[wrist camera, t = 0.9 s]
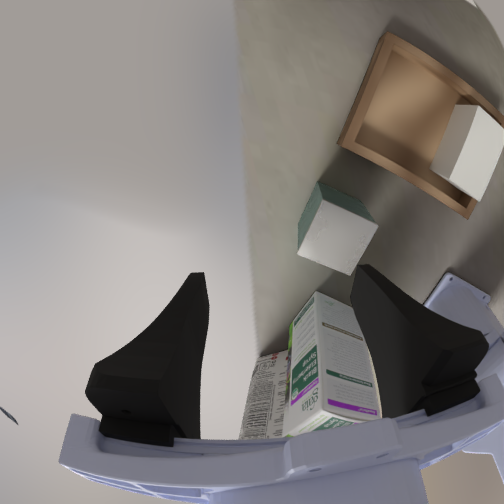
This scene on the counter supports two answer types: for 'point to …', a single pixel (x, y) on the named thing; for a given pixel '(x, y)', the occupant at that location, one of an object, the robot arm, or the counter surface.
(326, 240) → the tea tin
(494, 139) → the white rectangular block
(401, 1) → the counter surface
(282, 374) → the juice carton
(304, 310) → the syrup box
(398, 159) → the wooden tray
